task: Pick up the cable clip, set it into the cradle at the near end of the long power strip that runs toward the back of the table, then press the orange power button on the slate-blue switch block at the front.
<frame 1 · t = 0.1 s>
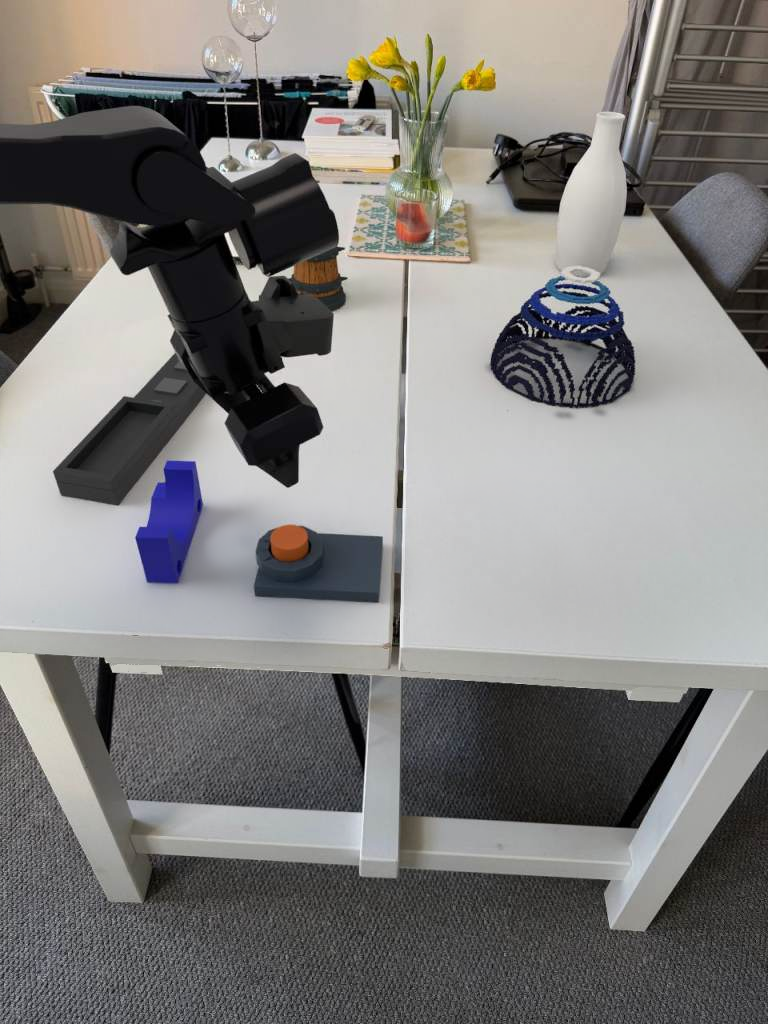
hand: (271, 455, 64), 14 cm above the table, tool pointing down, fingers open, 9 cm apart
power strip: (166, 408, 95), on the table
power button: (289, 543, 71), point 3 cm above the table, slide at 0.1 cm
switch block: (321, 570, 74), on the table
bottle: (579, 269, 135), on the table
decorative bowl: (560, 370, 106), on the table
plate: (249, 245, 140), on the table
cable clip: (169, 542, 76), on the table
mug: (316, 298, 123), on the table
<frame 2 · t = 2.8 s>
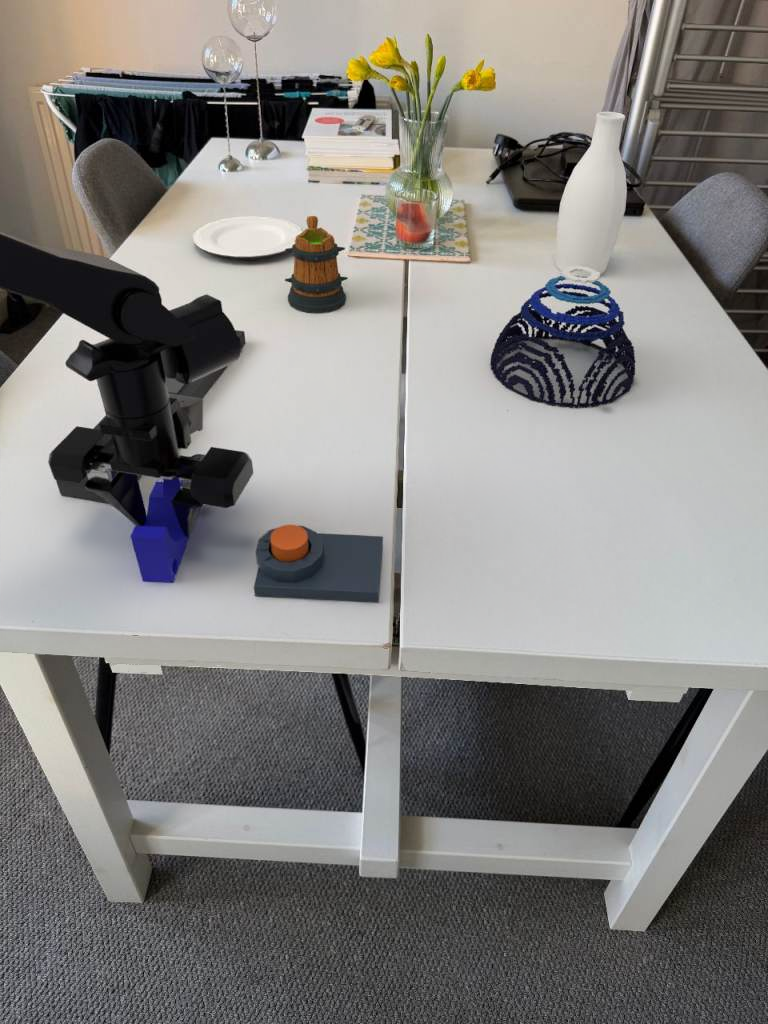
hand: (166, 530, 76), 1 cm above the table, tool pointing down, fingers closed on cable clip, 5 cm apart
cable clip: (167, 541, 76), on the table, touching gripper
everything else where it was.
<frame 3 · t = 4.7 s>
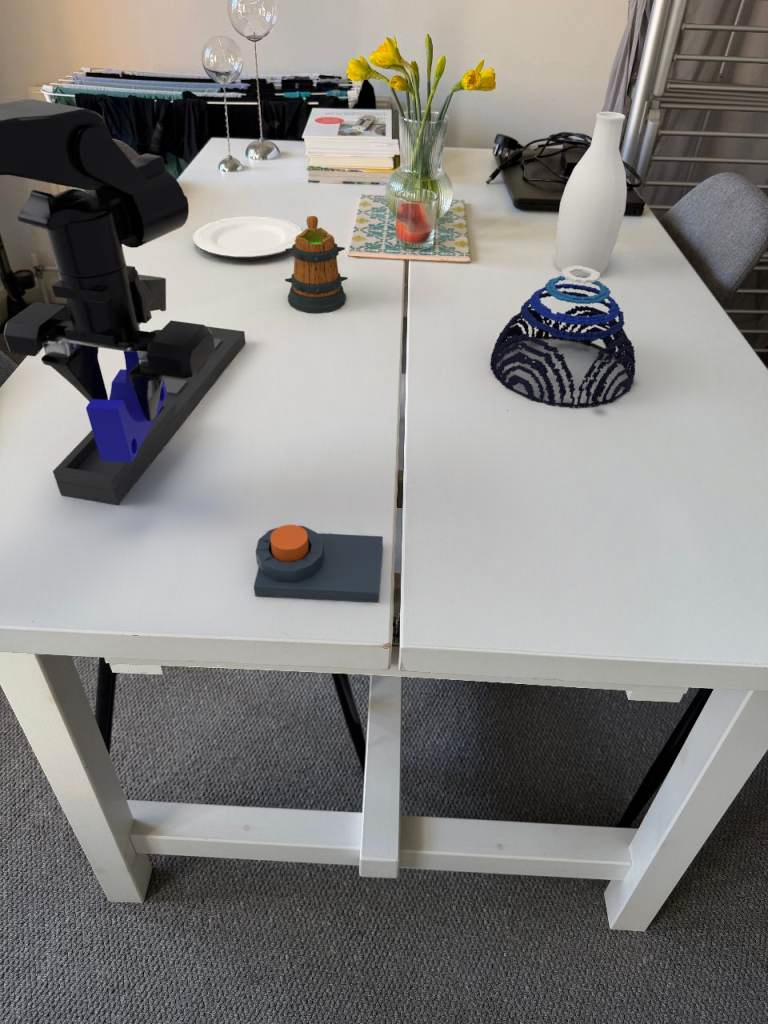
hand: (128, 415, 74), 11 cm above the table, tool pointing down, fingers closed on cable clip, 5 cm apart
cable clip: (129, 427, 75), point 10 cm above the table, touching gripper
everything else where it was.
when the fingers open (4 cm above the table, at t = 7.1 s): cable clip stays where it is, resting on power strip.
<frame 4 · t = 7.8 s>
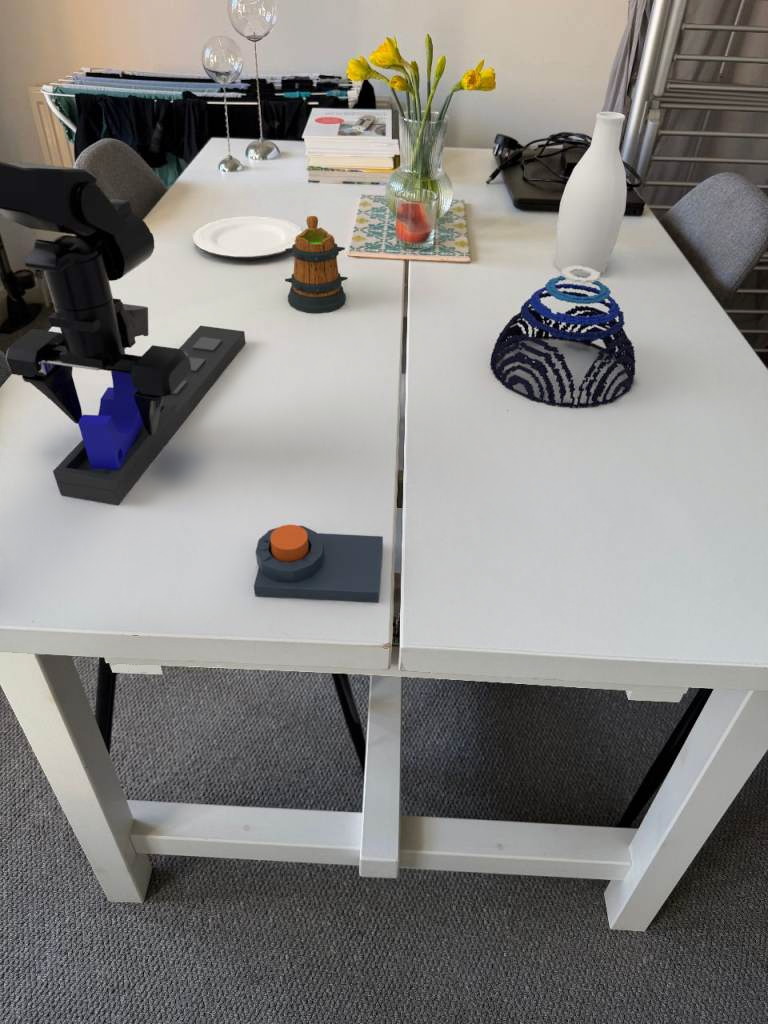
hand: (115, 427, 84), 4 cm above the table, tool pointing down, fingers open, 9 cm apart
cable clip: (116, 439, 84), point 3 cm above the table, touching power strip
everything else where it was.
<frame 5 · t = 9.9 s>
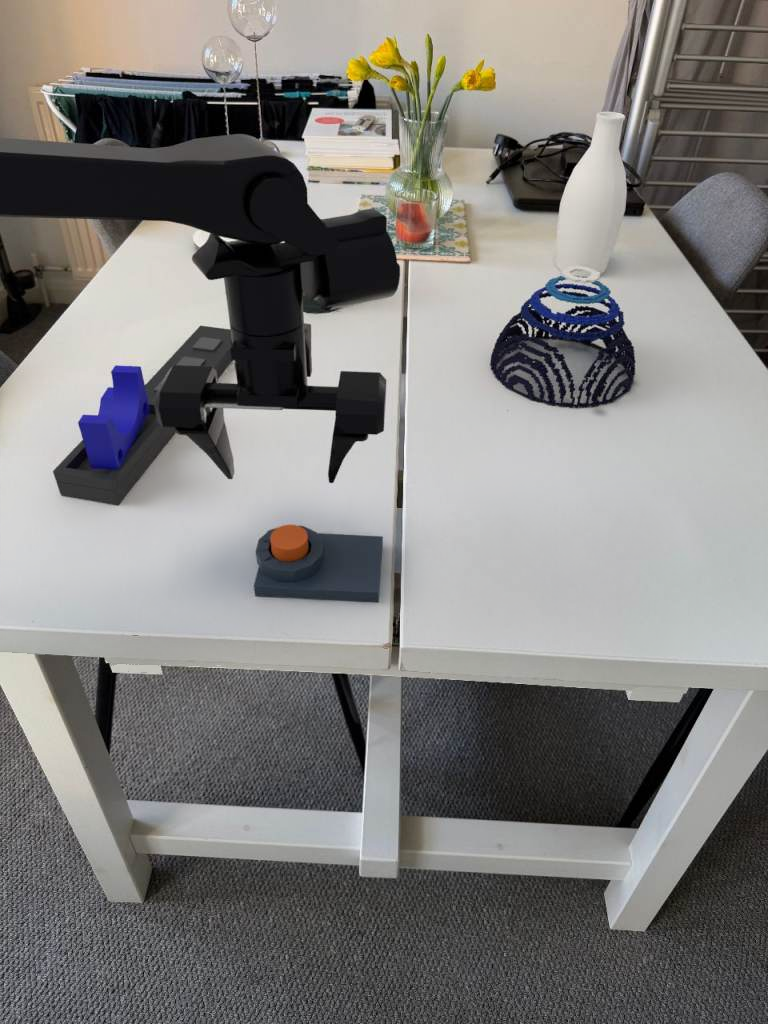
hand: (281, 478, 67), 11 cm above the table, tool pointing down, fingers open, 9 cm apart
nothing on the table moved.
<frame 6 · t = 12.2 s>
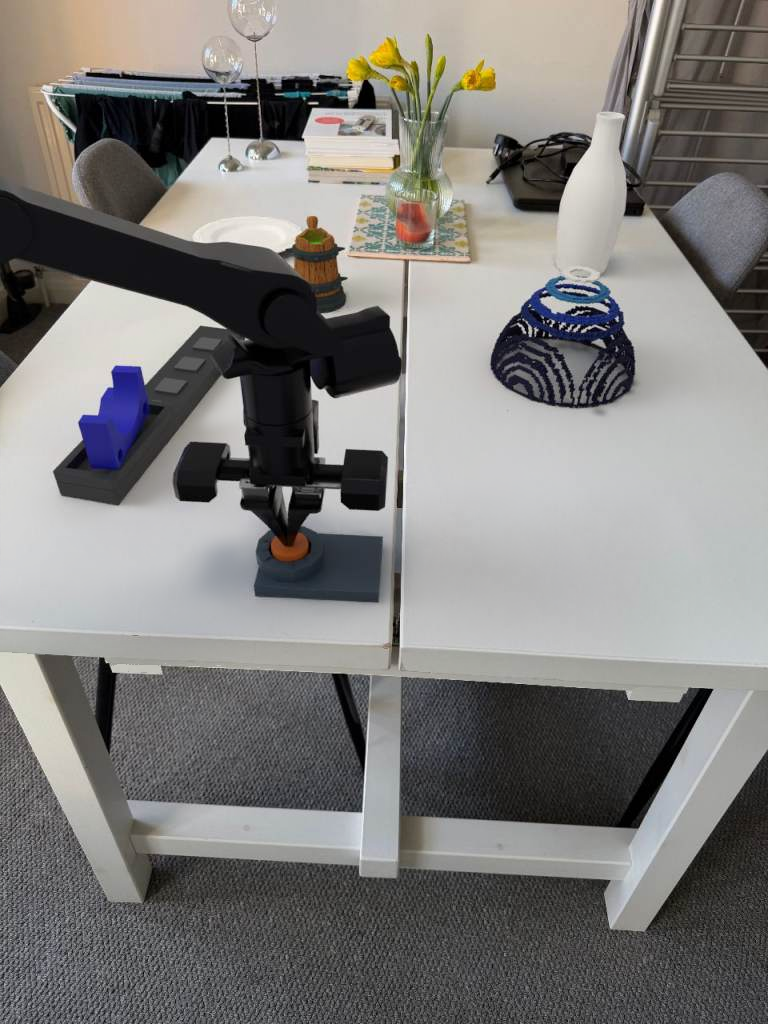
hand: (289, 543, 71), 4 cm above the table, tool pointing down, fingers closed, pressing on power button
power button: (290, 549, 72), point 3 cm above the table, slide at -0.7 cm, touching gripper
everything else where it was.
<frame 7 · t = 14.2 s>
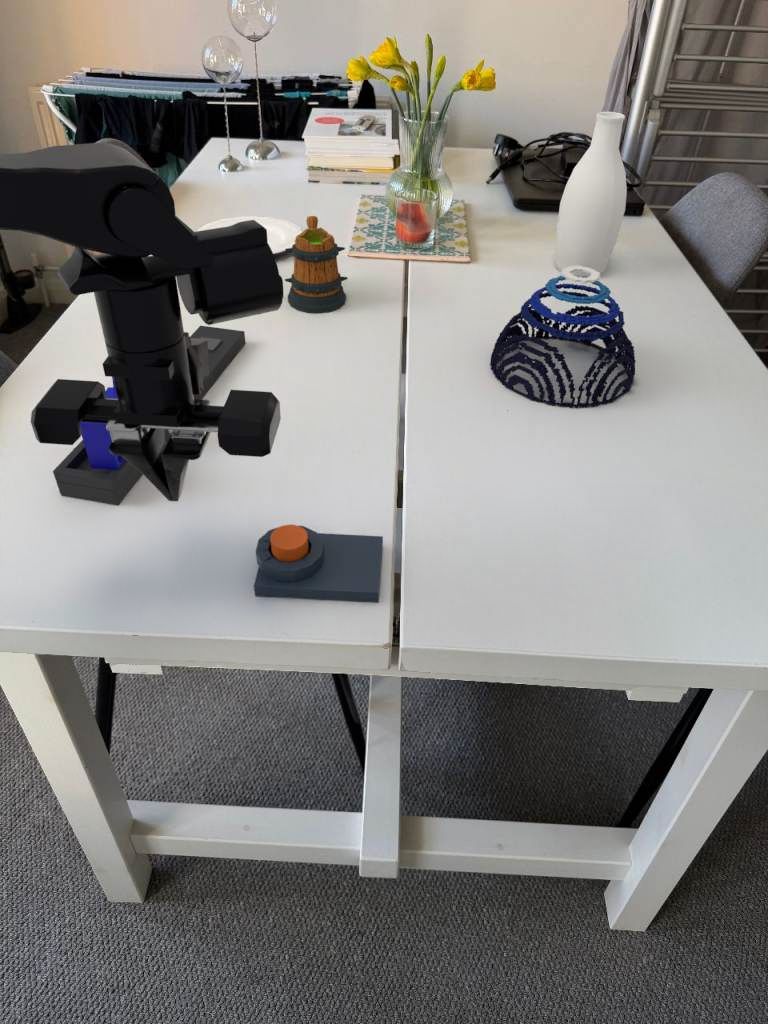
hand: (175, 498, 64), 11 cm above the table, tool pointing down, fingers closed
power button: (289, 543, 71), point 3 cm above the table, slide at 0.1 cm
everything else where it was.
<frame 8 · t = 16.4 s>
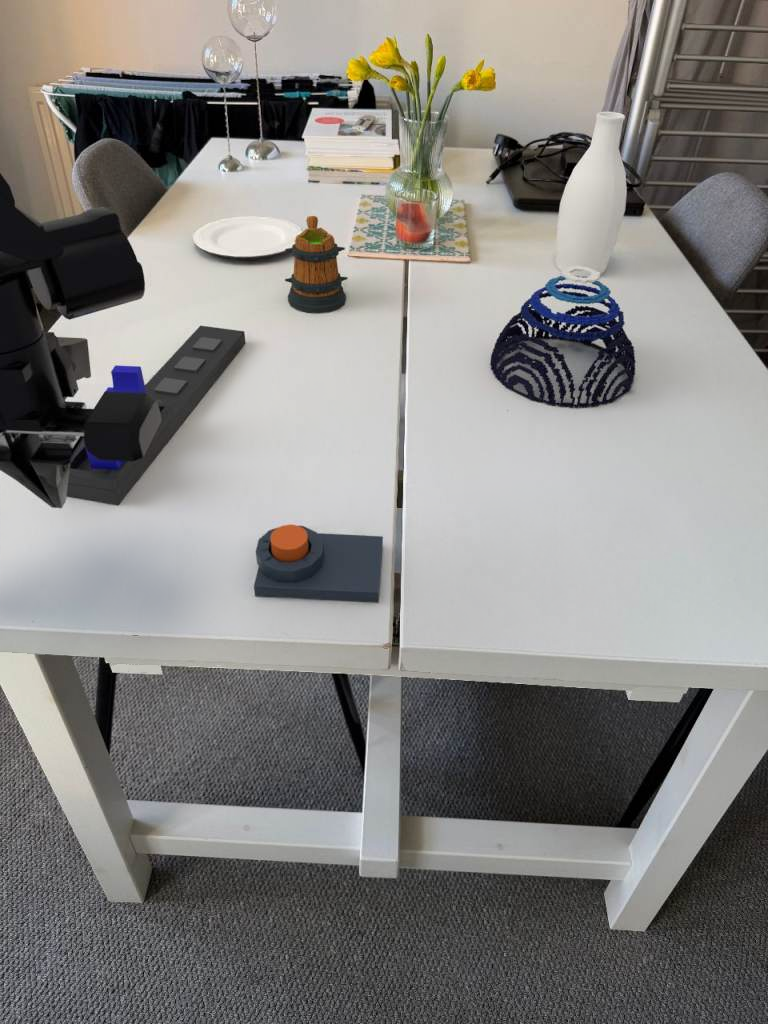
hand: (59, 504, 62), 12 cm above the table, tool pointing down, fingers closed
nothing on the table moved.
at the end: cable clip 0.5 cm from the target spot on the power strip, point 3.2 cm above the power strip's base; power button pushed in 0.9 cm at the most during the clip, back to where it started at the end; power button slide at 0.1 cm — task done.
